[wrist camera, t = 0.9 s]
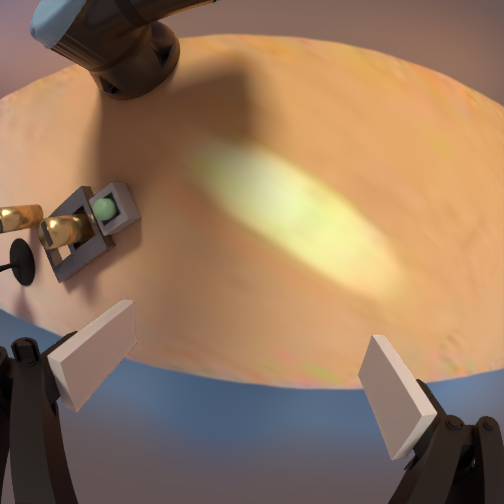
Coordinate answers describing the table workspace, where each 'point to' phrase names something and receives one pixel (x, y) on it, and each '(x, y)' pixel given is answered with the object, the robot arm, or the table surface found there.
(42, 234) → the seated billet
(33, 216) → the loose billet
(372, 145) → the table surface
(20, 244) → the wine glass
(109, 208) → the button
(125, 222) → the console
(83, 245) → the grey flat frame
